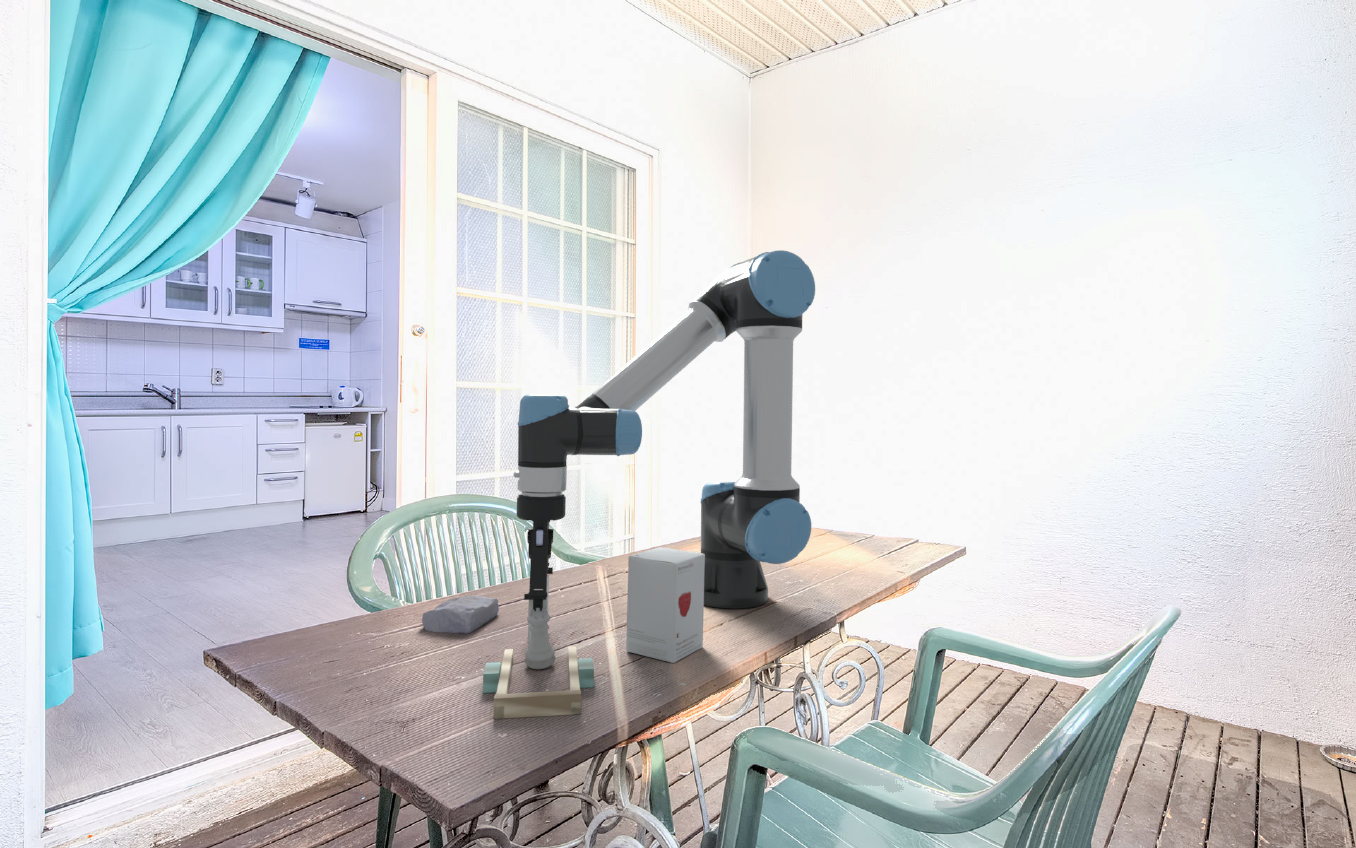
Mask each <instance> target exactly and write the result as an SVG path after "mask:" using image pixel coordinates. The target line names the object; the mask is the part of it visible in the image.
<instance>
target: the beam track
mask: <svg viewBox="0 0 1356 848" xmlns="http://www.w3.org/2000/svg"><path fill="white" fill-rule="evenodd" d="M503 652H504V653H503V659H502V661H497V662H486V663H485V665H484V669H483V673H482V693H483V694H487V693H488V694H489V693H495V694H494V696H493V720H500V719H501V720H502V719H517V718H535V717H551V716H567V715H568V716H569V715H570V716H571V715H582V690H581V688H582V689H585V688H594V687H595V686H594V684H595V683H594V681H595V679H594V678H595V668H594V667H595V666H594V659H593V657H590V658H589V657H585V658H578V654H577V646H575V645H574V646H573V645H572V646H571V645H570V646H567V665H568V669H567V670H568V683H569V686H568V687H569V690H556V691H555V690H554V691H553V690H552V691H551V690H550V691H537V692H535V691H534V692H519V693H518V692H517V693H515V692H514V693H509V688H510V682H511V681H510V680H511V675H512V670H513V669H512V668H513V662H514V649H513V648H506V649H504V651H503Z"/></svg>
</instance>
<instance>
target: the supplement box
mask: <svg viewBox="0 0 1356 848" xmlns="http://www.w3.org/2000/svg"><path fill="white" fill-rule="evenodd" d="M627 563H628V565H627V567H628V570H627V571H628V572H627V599H626V600H627V606H626V607H627V608H626V609H627V611H626V639H625V640H626V646H625V651H626V653H627V652H628V653H633V654H635V655H641V656H643V657H648V658H651V659H656V660H660V661H665V662H666V663H667V662H668V663H671V664H675V663H677V662H678V661H680V660H682V659H683V658H686V657H687V656H689V655H691V654H693V653H694V652H696V651H698V650H700V649H702V648H703V646H704V642H703V641H704V612H705V611H704V610H705V609H704V606H705V605H704V567H705V554H703V553H701V552H697V551H690V550H689V551H687V550H680V549H675V548H669V547H662V546H659V547H656V548H652V549H649V550H643V551H642V552H639V553H635V554H632V555H629V556H628V562H627Z"/></svg>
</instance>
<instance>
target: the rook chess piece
mask: <svg viewBox="0 0 1356 848" xmlns="http://www.w3.org/2000/svg"><path fill="white" fill-rule="evenodd" d="M550 620H551V615H550V614H549V611H548V612H547V610H546V609H545V608H542V611H540V608H536V611H535V612H534V609H532V610H531V612H530V615H529V616H527V618H526V621H527V623H528V622H529V623H530V624H531V626H530V627H529V630H530V631H531V637H530V643H528V646H527V648H526V650H525V651H524V657H525V658H524V664H525V665H526V666H528V667H529V668H530V669H532V670H545V669H547V668H549V667H551V666H552V665H553V664H554V663H555V661H556V655H555V654H556V651H555V647H553V645H552V643H551V641H550V639H549V637H550V636H549V629H550V625H549V624H548V623H549V621H550Z"/></svg>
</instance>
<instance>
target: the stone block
mask: <svg viewBox="0 0 1356 848" xmlns="http://www.w3.org/2000/svg"><path fill="white" fill-rule="evenodd" d="M499 611H500V607H499V599H498V598H497V597H496V598H491V597H487V596H483V595H464V596H458V597H453V598H450V599H448V600H446V601H444V602H442V603H440V604H438V605H437V606H436V607H434V609H431V610H428V611H425V612H423V614H422V617H421V623H422V628H424V630H425V631H428V632H434V633H453V634H465V635H466V634H470V633H472V632H474V631H476V630H477V629H479V628H480V627H482V626H483V625H485V624H486V623H488V622H490V621H491V620H493V619H494V618H495V617H496V616H497V615H498V613H499Z"/></svg>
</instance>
